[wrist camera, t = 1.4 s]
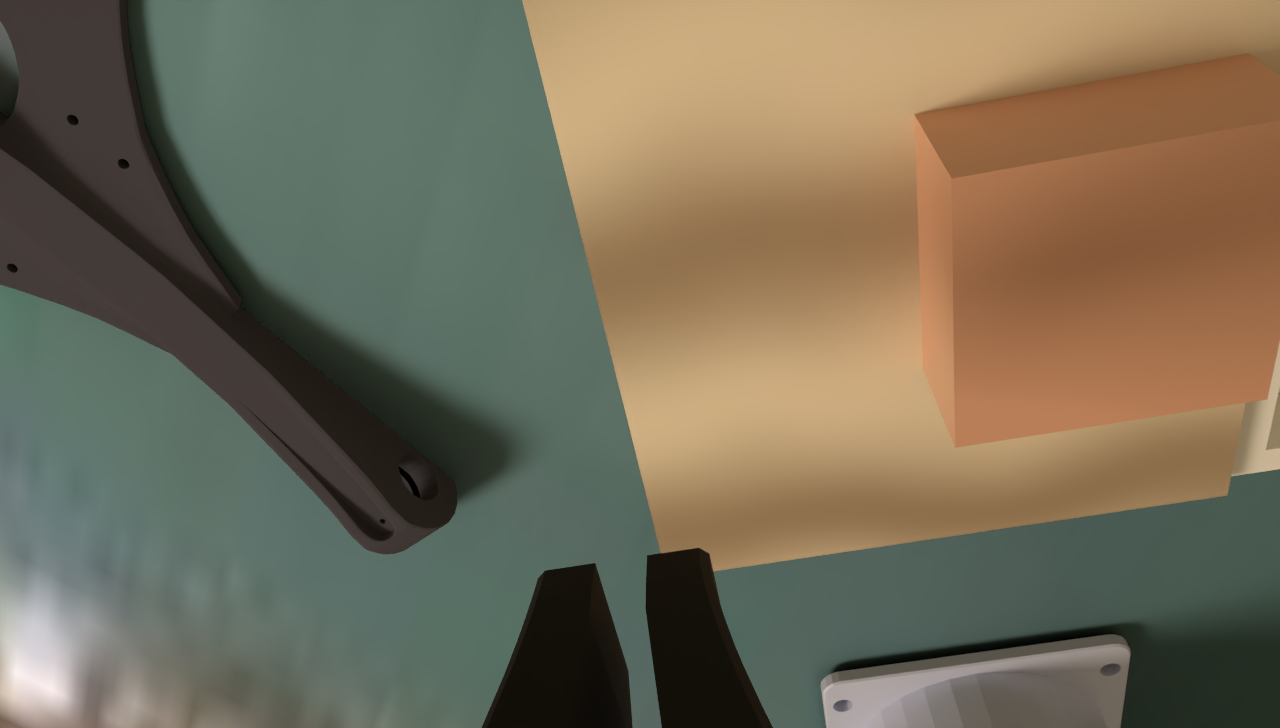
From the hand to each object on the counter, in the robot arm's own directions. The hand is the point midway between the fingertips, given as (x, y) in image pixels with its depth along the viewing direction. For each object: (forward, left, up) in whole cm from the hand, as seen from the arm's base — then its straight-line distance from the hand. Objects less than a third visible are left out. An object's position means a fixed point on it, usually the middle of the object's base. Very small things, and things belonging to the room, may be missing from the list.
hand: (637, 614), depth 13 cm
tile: (0, -8, -7) cm, 10 cm away
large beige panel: (0, -5, -9) cm, 11 cm away
